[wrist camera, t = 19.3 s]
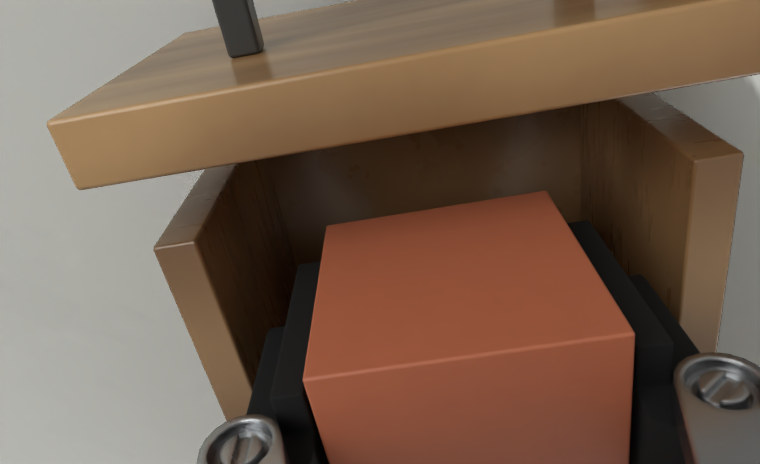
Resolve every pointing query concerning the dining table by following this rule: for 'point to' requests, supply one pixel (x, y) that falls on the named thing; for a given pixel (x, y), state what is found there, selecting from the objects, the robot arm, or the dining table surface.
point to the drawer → (420, 142)
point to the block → (468, 341)
